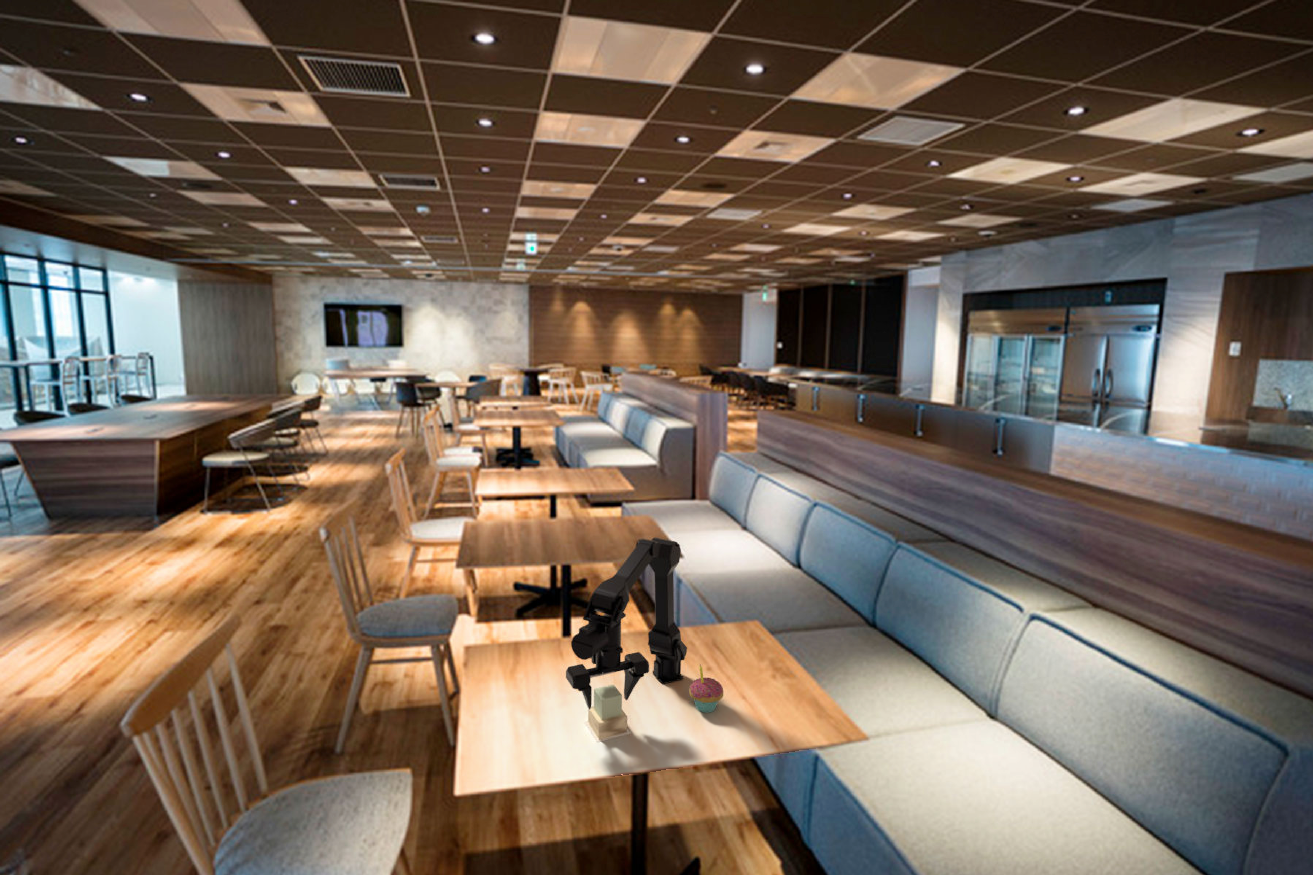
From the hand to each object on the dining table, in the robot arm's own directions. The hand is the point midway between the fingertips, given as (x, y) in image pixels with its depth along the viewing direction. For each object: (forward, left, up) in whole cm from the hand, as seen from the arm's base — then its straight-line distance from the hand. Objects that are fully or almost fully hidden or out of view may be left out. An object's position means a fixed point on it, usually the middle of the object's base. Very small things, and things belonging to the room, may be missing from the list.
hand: (607, 703), depth 155 cm
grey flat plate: (-2, 0, -7) cm, 7 cm away
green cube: (0, 0, -2) cm, 2 cm away
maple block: (0, 0, -6) cm, 6 cm away
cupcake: (-26, +1, -7) cm, 27 cm away
